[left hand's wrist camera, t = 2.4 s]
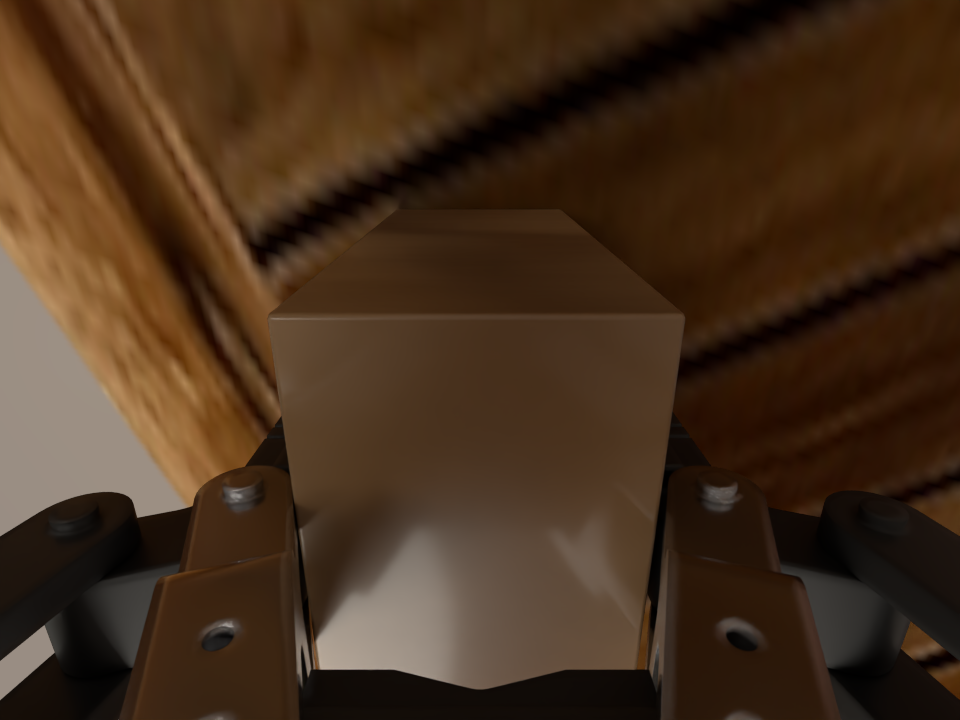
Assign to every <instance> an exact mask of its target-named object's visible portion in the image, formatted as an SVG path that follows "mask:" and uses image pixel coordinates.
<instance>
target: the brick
mask: <svg viewBox="0 0 960 720" xmlns="http://www.w3.org/2000/svg"><path fill="white" fill-rule="evenodd" d="M684 324H685V316H684V314H683V313H682V312H681V311H680V310H679V309H677V308H676V307H675V306H674V305H673V304H672V303H670V302H669V301H668V300H667V299H666V298H664V297H663V296H662V295H661V294H660V293H659V292H657V291H656V290H655V289H654V288H653V287H651V286H650V285H649V284H648V283H647V282H646V281H644V280H643V279H642V278H641V277H640V276H639V275H637V274H636V273H635V272H634V271H633V270H631V269H630V268H629V267H628V266H627V265H626V264H624V263H623V262H622V261H621V260H620V259H618V258H617V257H616V256H615V255H614V254H613V253H611V252H610V251H609V250H608V249H607V248H605V247H604V246H603V245H602V244H601V243H600V242H598V241H597V240H596V239H595V238H594V237H593V236H591V235H590V234H589V233H588V232H587V231H585V230H584V229H583V228H582V227H581V226H580V225H578V224H577V223H576V222H575V221H574V220H572V219H571V218H570V217H569V216H568V215H567V214H565V213H564V212H563V211H562V210H560V209H398V210H396V211H395V212H393V213H392V214H391V215H390V216H389V217H387V218H386V219H385V220H384V221H382V222H381V223H380V224H379V225H378V226H376V227H375V228H374V229H373V230H371V231H370V232H369V233H368V234H367V235H365V236H364V237H363V238H362V239H360V240H359V241H358V242H357V243H355V244H354V245H353V246H352V247H351V248H349V249H348V250H347V251H346V252H344V253H343V254H342V255H341V256H340V257H338V258H337V259H336V260H335V261H333V262H332V263H331V264H330V265H328V266H327V267H326V268H325V269H324V270H322V271H321V272H320V273H319V274H317V275H316V276H315V277H314V278H313V279H311V280H310V281H309V282H308V283H306V284H305V285H304V286H303V287H301V288H300V289H299V290H298V291H297V292H295V293H294V294H293V295H292V296H290V297H289V298H288V299H287V300H286V301H284V302H283V303H282V304H281V305H279V306H278V307H277V308H276V309H274V310H273V311H272V312H271V313H270V314H269V316H268V325H269V332H270V339H271V346H272V352H273V359H274V366H275V373H276V380H277V387H278V394H279V401H280V408H281V415H282V422H283V429H284V435H285V442H286V449H287V456H288V463H289V470H290V477H291V484H292V491H293V498H294V505H295V512H296V519H297V525H298V532H299V539H300V546H301V553H302V560H303V567H304V574H305V581H306V588H307V595H308V602H309V608H310V615H311V622H312V629H313V636H314V643H315V650H316V657H317V664H318V670H398V671H402V672H406V673H410V674H414V675H418V676H422V677H426V678H430V679H434V680H439V681H443V682H447V683H451V684H455V685H459V686H463V687H467V688H472V689H488V688H493V687H497V686H501V685H505V684H509V683H513V682H517V681H521V680H526V679H530V678H534V677H538V676H542V675H546V674H550V673H554V672H558V671H562V670H636V669H637V662H638V655H639V648H640V641H641V633H642V626H643V619H644V612H645V605H646V597H647V590H648V583H649V576H650V569H651V561H652V554H653V547H654V540H655V533H656V526H657V518H658V511H659V504H660V497H661V490H662V482H663V475H664V468H665V461H666V454H667V446H668V439H669V432H670V425H671V418H672V411H673V403H674V396H675V389H676V382H677V375H678V367H679V360H680V353H681V346H682V339H683V331H684Z"/></svg>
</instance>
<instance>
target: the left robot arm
mask: <svg viewBox="0 0 960 720" xmlns="http://www.w3.org/2000/svg"><path fill="white" fill-rule="evenodd" d="M681 425H682V424H681V423H680V422H679V420H678V419H677V417H676V416H675V415H674V413H673V412H672V418H671V425H670V432H669V439H668V446H667V454H666V461H665V468H664V475H663V482H662V490H661V497H660V504H659V511H658V518H657V526H656V533H655V540H654V547H653V554H652V561H651V569H650V576H649V583H648V590H647V593H648V596H649V598H650V601H651V606H650V613H649V623H648V636H647V649H646V661H645V670H562V671H558V672H554V673H550V674H546V675H542V676H538V677H534V678H530V679H526V680H521V681H517V682H513V683H509V684H505V685H501V686H497V687H493V688H488V689H472V688H467V687H463V686H459V685H455V684H451V683H447V682H443V681H439V680H434V679H430V678H426V677H422V676H418V675H414V674H410V673H406V672H402V671H398V670H315V661H314V648H313V636H312V623H311V615H310V608H309V602H308V595H307V588H306V581H305V574H304V567H303V560H302V553H301V546H300V539H299V532H298V525H297V519H296V512H295V505H294V498H293V491H292V484H291V477H290V470H289V463H288V456H287V449H286V442H285V435H284V429H283V422H282V416H281V417H280V419H279V420H278V422H277V423H276V424H275V428H272V430H271V431H270V433H269V434H268V435H267V439H265V440H264V441H263V442H262V444H261V445H260V446H259V448H258V449H257V451H256V452H255V453H254V455H253V456H252V458H251V459H250V460H249V462H248V463H247V464H246V466H245V467H242V468H237V469H234V470H231V471H228V472H225V473H223V474H221V475H218V476H216V477H215V478H213V479H211V480H210V481H208V482H207V483H206V484H204V485H203V486H202V487H201V488H200V489H199V491H198V492H197V494H196V496H195V498H194V503H193V506H192V507H188V508H185V509H181V510H177V511H171V512H166V513H161V514H155V515H150V516H145V517H139V518H137V516H136V512H135V508H134V504H133V502H132V500H131V499H130V498H129V497H128V496H126V495H124V494H120V493H114V492H99V493H91V494H85V495H81V496H77V497H74V498H70V499H68V500H64V501H62V502H59V503H57V504H55V505H52V506H50V507H48V508H46V509H45V510H43V511H41V512H39V513H37V514H36V515H34V516H33V517H31V518H29V519H28V520H26V521H24V522H23V523H21V524H20V525H18V526H16V527H15V528H13V529H12V530H10V531H8V532H7V533H5V534H3V535H2V536H0V661H1V660H2V659H3V658H4V657H5V656H7V655H8V654H9V653H10V652H12V651H13V650H14V649H15V648H17V647H18V646H19V645H20V644H21V643H23V642H24V641H25V640H26V639H28V638H29V637H30V636H31V635H33V634H34V633H35V632H36V631H37V630H39V629H40V628H41V627H42V626H44V625H45V627H46V630H47V633H48V635H49V638H50V641H51V643H52V646H53V649H54V651H55V653H54V654H53V655H52V656H50V657H49V658H48V659H47V660H46V661H45V662H44V663H42V664H41V665H40V666H39V667H38V668H37V669H36V670H34V671H33V672H32V673H31V674H30V675H29V676H28V677H26V678H25V679H24V680H23V681H22V682H21V683H20V684H18V685H17V686H16V687H15V688H14V689H13V690H12V691H10V692H9V693H8V694H7V695H6V696H5V697H4V698H2V699H1V700H0V720H960V700H959V699H958V698H956V697H955V696H954V695H953V694H952V693H951V692H950V691H948V690H947V689H946V688H945V687H944V686H943V685H942V684H940V683H939V682H938V681H937V680H936V679H935V678H934V677H932V676H931V675H930V674H929V673H928V672H927V671H926V670H924V669H923V668H922V667H921V666H920V665H919V664H918V663H916V662H915V661H914V660H913V659H912V658H911V657H910V656H908V655H907V654H906V653H905V652H904V651H903V650H902V649H901V646H902V643H903V640H904V638H905V635H906V632H907V630H908V627H909V624H910V621H911V622H913V623H914V624H915V625H916V626H918V627H919V628H920V629H921V630H923V631H924V632H925V633H926V634H927V635H929V636H930V637H931V638H932V639H934V640H935V641H936V642H937V643H939V644H940V645H941V646H942V647H943V648H945V649H946V650H947V651H948V652H950V653H951V654H952V655H953V656H955V657H956V658H957V659H958V660H959V661H960V536H958V535H957V534H955V533H953V532H952V531H950V530H948V529H947V528H945V527H944V526H942V525H940V524H939V523H937V522H936V521H934V520H932V519H931V518H929V517H927V516H926V515H924V514H923V513H921V512H919V511H918V510H916V509H914V508H912V507H910V506H908V505H906V504H904V503H902V502H900V501H897V500H894V499H892V498H889V497H886V496H882V495H878V494H874V493H869V492H863V491H840V492H836V493H833V494H831V495H829V496H828V497H827V498H826V500H825V502H824V506H823V510H822V514H821V517H815V516H810V515H804V514H799V513H794V512H789V511H783V510H778V509H774V508H770V507H767V503H766V498H765V496H764V493H763V492H762V491H761V489H760V488H759V487H758V486H757V485H756V484H754V483H753V482H752V481H750V480H749V479H747V478H745V477H744V476H742V475H740V474H737V473H735V472H732V471H729V470H726V469H723V468H718V467H713V466H711V465H710V464H709V462H708V461H707V460H706V458H705V457H704V455H703V454H702V453H701V451H700V450H699V448H698V447H697V445H696V444H695V443H694V441H693V440H692V438H689V434H688V433H687V431H686V430H685V429H684V427H682V426H681Z"/></svg>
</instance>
